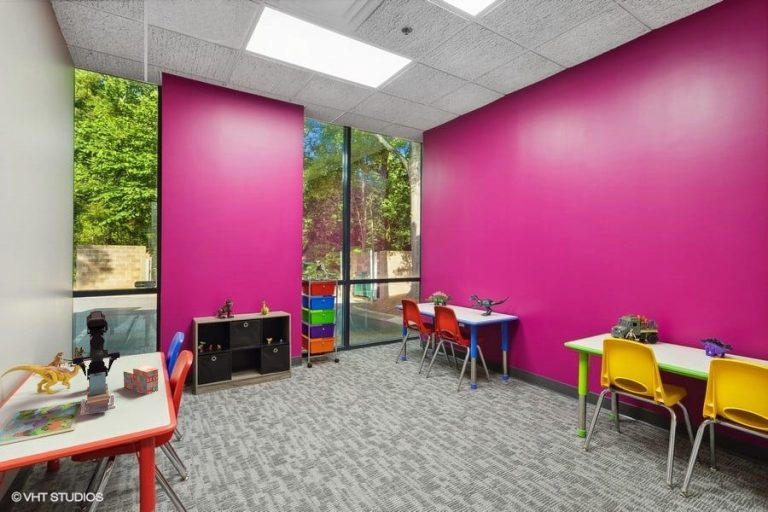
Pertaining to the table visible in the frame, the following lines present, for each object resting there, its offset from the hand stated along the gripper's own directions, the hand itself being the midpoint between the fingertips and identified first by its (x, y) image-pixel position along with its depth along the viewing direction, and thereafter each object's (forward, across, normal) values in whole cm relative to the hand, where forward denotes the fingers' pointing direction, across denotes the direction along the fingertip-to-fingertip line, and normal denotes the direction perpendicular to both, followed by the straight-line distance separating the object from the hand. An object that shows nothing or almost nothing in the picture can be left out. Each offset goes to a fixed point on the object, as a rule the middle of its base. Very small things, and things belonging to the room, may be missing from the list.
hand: (97, 374), depth 187 cm
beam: (+11, 0, -11) cm, 16 cm away
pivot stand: (+13, 0, -15) cm, 20 cm away
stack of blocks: (+13, +19, +3) cm, 23 cm away
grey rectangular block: (+6, 0, -12) cm, 13 cm away
